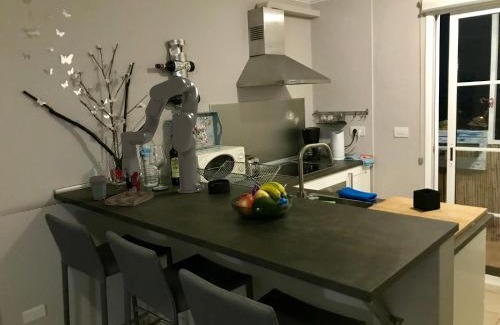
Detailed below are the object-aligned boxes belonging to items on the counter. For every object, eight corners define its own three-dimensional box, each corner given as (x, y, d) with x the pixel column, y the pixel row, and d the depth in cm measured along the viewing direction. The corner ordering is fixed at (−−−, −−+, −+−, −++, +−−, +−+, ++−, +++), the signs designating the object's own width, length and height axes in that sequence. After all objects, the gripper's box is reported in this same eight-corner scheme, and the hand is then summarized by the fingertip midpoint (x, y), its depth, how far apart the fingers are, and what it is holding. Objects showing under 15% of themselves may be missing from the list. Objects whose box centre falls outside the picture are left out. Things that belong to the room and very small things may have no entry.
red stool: (137, 193, 223) (134, 171, 221) (125, 194, 224) (123, 172, 223) (142, 191, 230) (140, 169, 228) (131, 191, 231) (129, 170, 229)
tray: (154, 197, 214) (153, 192, 213) (134, 206, 198) (133, 200, 197) (126, 196, 219) (125, 191, 219) (104, 204, 203) (104, 199, 203)
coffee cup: (105, 200, 212) (102, 177, 210) (88, 201, 212) (86, 178, 211) (111, 197, 221) (108, 174, 219) (95, 197, 221) (92, 175, 219)
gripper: (133, 152, 233) (137, 183, 236) (113, 157, 217) (118, 190, 220) (145, 152, 231) (148, 183, 233) (126, 156, 214) (129, 190, 217)
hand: (133, 186), depth 226 cm, fingers closed on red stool, 6 cm apart
